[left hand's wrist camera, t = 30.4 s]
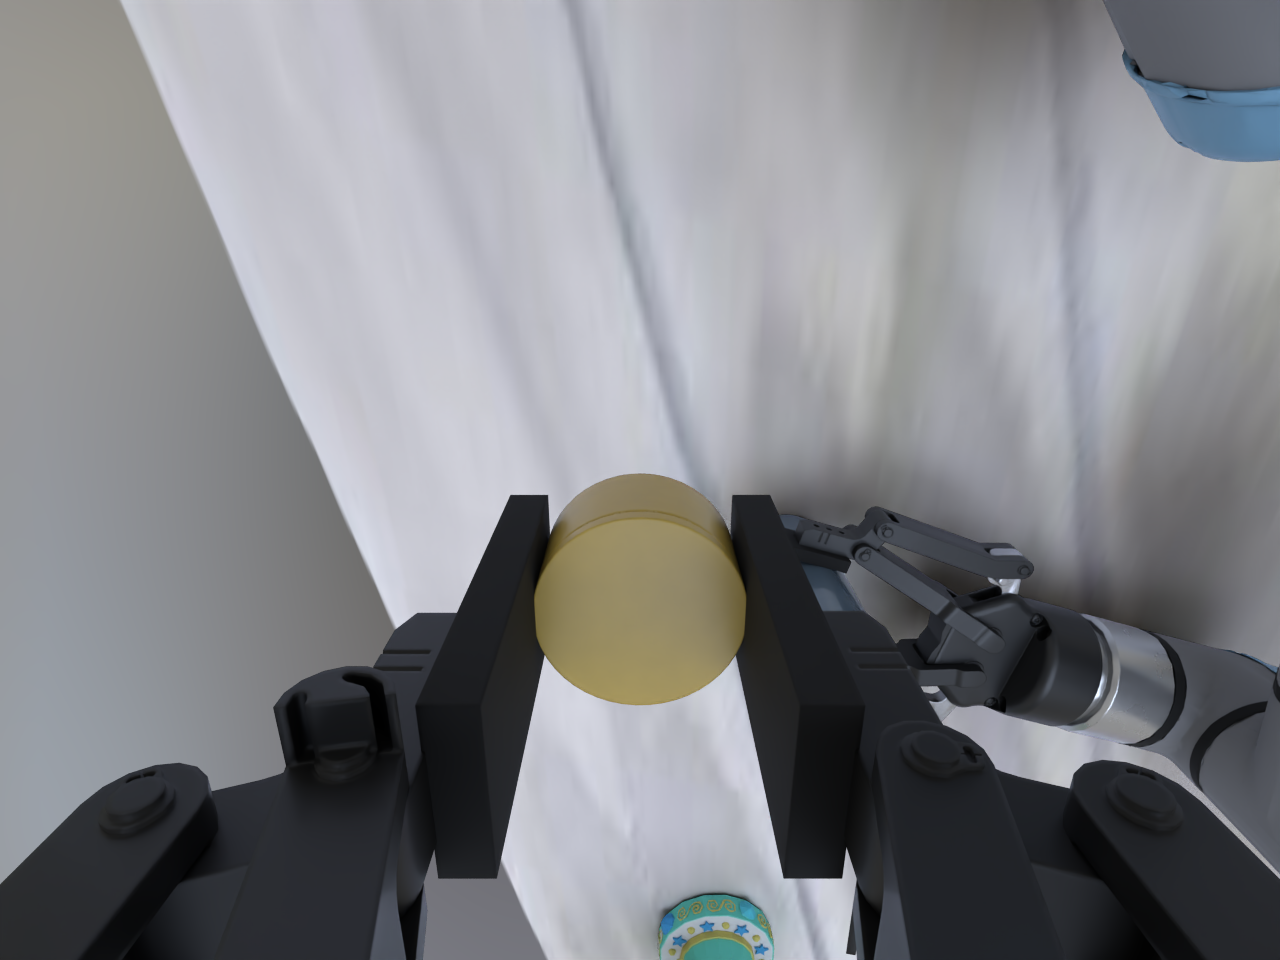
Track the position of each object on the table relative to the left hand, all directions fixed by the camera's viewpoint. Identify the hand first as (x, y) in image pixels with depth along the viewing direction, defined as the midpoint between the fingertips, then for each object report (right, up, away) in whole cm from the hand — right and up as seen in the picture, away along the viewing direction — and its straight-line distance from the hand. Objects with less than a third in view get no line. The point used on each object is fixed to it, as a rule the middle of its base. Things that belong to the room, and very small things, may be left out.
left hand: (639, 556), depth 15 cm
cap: (0, -1, -2) cm, 2 cm away
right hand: (+5, -5, +29) cm, 30 cm away
